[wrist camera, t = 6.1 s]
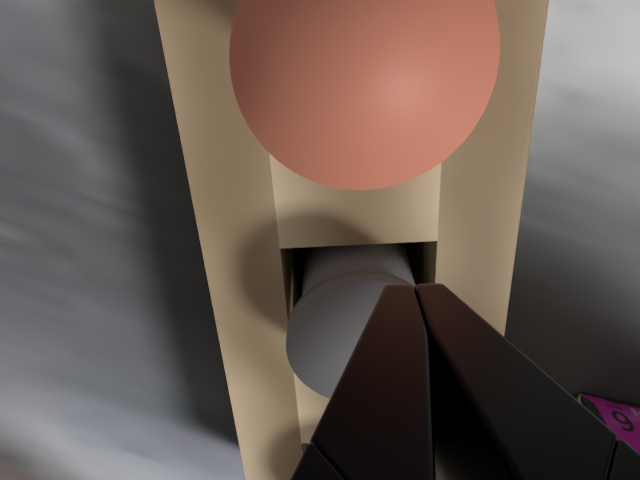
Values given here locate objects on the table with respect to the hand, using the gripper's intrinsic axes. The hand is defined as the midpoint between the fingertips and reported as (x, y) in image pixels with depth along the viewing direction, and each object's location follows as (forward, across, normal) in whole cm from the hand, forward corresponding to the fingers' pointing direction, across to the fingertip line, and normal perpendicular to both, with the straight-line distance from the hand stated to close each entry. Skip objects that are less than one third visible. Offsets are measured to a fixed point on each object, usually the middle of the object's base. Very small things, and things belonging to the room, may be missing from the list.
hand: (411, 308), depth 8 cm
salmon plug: (+10, +1, -3) cm, 10 cm away
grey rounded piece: (+12, 0, +6) cm, 14 cm away
